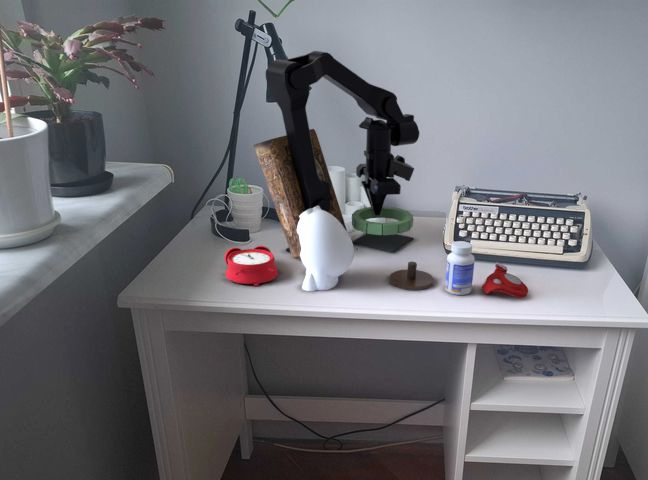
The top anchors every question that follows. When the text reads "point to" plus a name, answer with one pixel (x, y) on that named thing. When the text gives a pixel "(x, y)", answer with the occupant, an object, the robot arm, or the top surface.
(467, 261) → the pill bottle
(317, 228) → the figurine
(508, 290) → the tracker holder
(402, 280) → the ring stand
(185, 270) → the top surface
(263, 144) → the book
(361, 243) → the mat
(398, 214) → the ring
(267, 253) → the alarm clock
